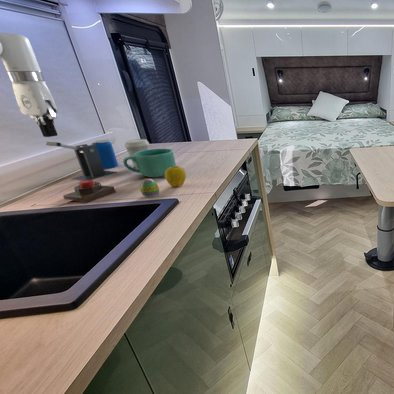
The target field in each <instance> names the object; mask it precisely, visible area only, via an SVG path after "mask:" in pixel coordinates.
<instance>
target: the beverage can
mask: <svg viewBox="0 0 394 394" xmlns="http://www.w3.org/2000/svg"><path fill="white" fill-rule="evenodd" d="M91 145H96V148H97V151H98V154H99V157H100V160H101V163H102V166H103V169H104V170H108V169H113V168H118V167H119V163H118V159H117V156H116V153H115V150H114V146H113V144H112V142H111V141H110V140H109V139H101V140H93V141H92V142H91Z"/></svg>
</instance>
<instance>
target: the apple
mask: <svg viewBox="0 0 394 394" xmlns="http://www.w3.org/2000/svg"><path fill="white" fill-rule="evenodd" d="M164 178H165V180H166V182H167V183H168V184H169V185H170V186H171V187H181V186H183V185H184V183H185V181H186V178H187V173H186V171H185V169H184V168H183V167H182V166H179V165H176V166H172V167H169V168H167V169H166V171H165V176H164Z"/></svg>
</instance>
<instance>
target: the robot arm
mask: <svg viewBox="0 0 394 394" xmlns="http://www.w3.org/2000/svg"><path fill="white" fill-rule="evenodd" d="M0 60H1V61H2V63H3V66H4V68H5V70H6V73H7V75H8V77H9V79H10V82H11V85H12V86H11V87H12V91H13V94H14V97H15V100H16V103H17V106H18V108H19V110H20V112H21V114H22V115H23V116H28V117H29V118H30V119H33V120H34V121H35V123H36V125H37V126H38V127H39V129H40V131H41V134H42V137H44V138H52V137H57V136H58V132H57V129H56V127H55V121H54V120H56V119H57V118H58V117H57V114H58V112H59V111H58V107H57V104H56V103H55V100H54V98H53V95H52V93H51V91H50V89H49V88H48V85H47V84H46V80H45V78H44V76H43V72H42V70H41V66H40V65H39V63H38V60H37V57H36V54H35V51H34V49H33V47H32V44H31V42H30V40H29V38H28V37H27V36H25V35H23V34H17V33H9V32H8V33H7V32H6V33H5V32H0Z"/></svg>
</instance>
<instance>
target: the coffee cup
mask: <svg viewBox="0 0 394 394" xmlns="http://www.w3.org/2000/svg"><path fill="white" fill-rule="evenodd" d="M124 147H125V149H126V151H127V153H128V156H132V157H135V156H134V154H135V153H137V152H140V151H145V150H150V142H149V141H148V140H147V139H146V138H137V139H136V138H135V139H130V140H125V142H124ZM131 162H132V164H133V166H134V169H138V167H137V163H136V162H135V161H134V160H131Z"/></svg>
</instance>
